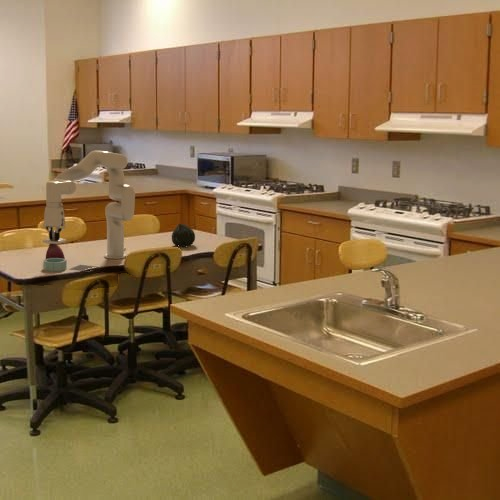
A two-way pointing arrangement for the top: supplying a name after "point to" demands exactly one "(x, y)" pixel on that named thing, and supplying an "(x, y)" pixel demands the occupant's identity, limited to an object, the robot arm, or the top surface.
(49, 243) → the lid
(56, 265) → the bowl
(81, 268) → the mat
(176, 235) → the squash
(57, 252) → the vegetable
